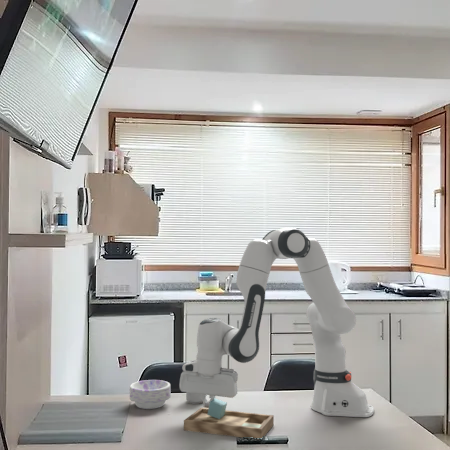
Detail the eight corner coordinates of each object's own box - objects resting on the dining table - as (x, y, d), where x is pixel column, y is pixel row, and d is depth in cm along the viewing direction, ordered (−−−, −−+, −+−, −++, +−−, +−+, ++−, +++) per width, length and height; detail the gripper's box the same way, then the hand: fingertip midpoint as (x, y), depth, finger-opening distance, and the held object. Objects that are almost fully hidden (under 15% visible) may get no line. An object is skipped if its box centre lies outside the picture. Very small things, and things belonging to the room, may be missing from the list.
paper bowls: (130, 413, 199) (131, 390, 200) (128, 401, 214) (128, 380, 214) (173, 410, 203) (173, 388, 203) (167, 399, 218) (167, 378, 218)
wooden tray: (273, 425, 186) (273, 415, 186) (261, 439, 172) (261, 429, 172) (201, 417, 195) (201, 407, 195) (183, 430, 181) (183, 420, 181)
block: (224, 415, 190) (227, 402, 190) (219, 419, 186) (222, 406, 186) (212, 410, 192) (215, 398, 191) (207, 414, 187) (210, 401, 187)
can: (203, 404, 210) (203, 372, 210) (184, 403, 211) (184, 371, 212) (207, 399, 217) (208, 368, 218) (189, 398, 219) (189, 367, 219)
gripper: (240, 367, 190) (239, 409, 189) (185, 362, 197) (184, 401, 196) (234, 371, 184) (233, 413, 183) (178, 365, 191) (176, 406, 190)
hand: (207, 407), depth 190 cm, fingers closed
